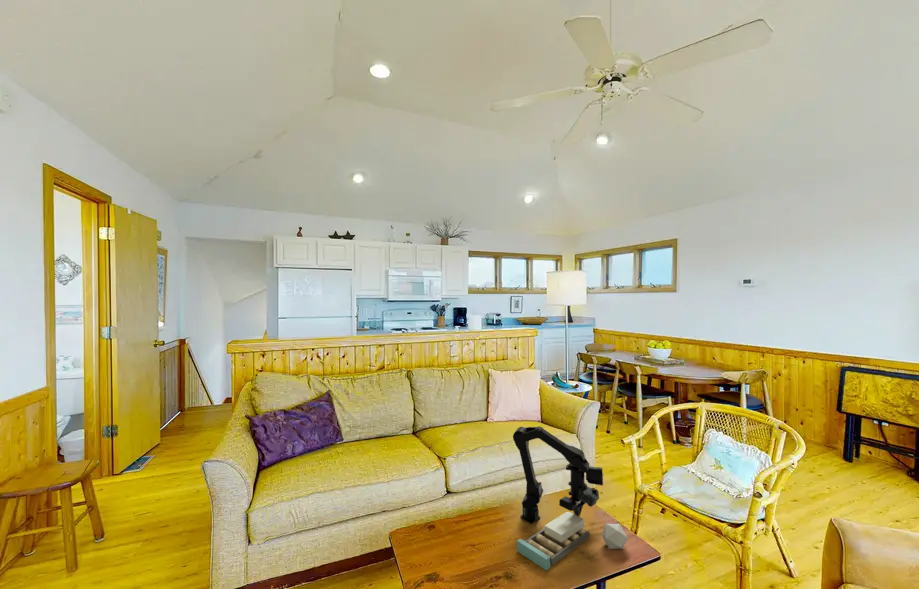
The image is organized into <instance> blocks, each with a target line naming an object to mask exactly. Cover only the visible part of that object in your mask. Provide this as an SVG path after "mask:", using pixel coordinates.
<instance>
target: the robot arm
mask: <svg viewBox="0 0 919 589" xmlns="http://www.w3.org/2000/svg"><path fill="white" fill-rule="evenodd" d="M512 439H513V442H514V444H515V447H516V448H517V449H518V451H519V455H520V459H521V464H522V468H523V471H524V472H523V473H524V478H525V481H526V490H525V492H526V493H525V495H524V497H523V499H522V501H521V505H522V514H521V515H520V518H521V519H523V521H526V522H528V523H530V524H533V523H535V522H536V521H538V520H540V519H541V516H540V515H539V511H540V510H539V503H540V501H541V498H542V496H543V493H544V489H543V485H542V481H541V482H540V481H538V480H537V478H536V473H535V469H534V464H533V461H532V460H533V459H532V455H531V452H530V441H533V440H536V439H540V441H542V442H543V443H545V444H547V445H548V446H549V447H551V448H552V449H553V450H555V451H556V452H558V453H560V454H561V455H562V456H563V457H564V459H565V460H566V461H567V462H568V464H567V465H566V467H565V470H566V471H570V480H569V481H568V482H567V484H568V486H570V490H569V491H568V495H569V496H570V497H568V496H563V497H562V498H560V499H559V501H558V504H559V506H560V507H561V508H564V509H566V510H568V511H569V512H573V514H574V515H577V516H579V517H580V516H581V513H582V509H583V507H584V505H586V504H587V506H588V507H593V506H594V505H596V504H597V502H598V500H599V499H600V493H599V490H598V488H597V489H596V488H591V487H590V486H588V484H591V485H597V486H601V487H602V486H604V473H603V467H600V466H599V467H596V466H591V465H590V462H589V461H588V460H587V458H586V455H585V452H584V451H583V450H582V449H580V448H578V447H575V446H574V445H569V444H567V443H565V442H563V441H562V440H561V439H559V438H558V437H557V436H554V435H553V434H552V433H550V432H548V431H547V430H546V429H544V427H542V426H527V427H525V426H519V427H518V428H516V430H515V432H514V433H513V434H512ZM585 480H586V482H587V483H588V484H587V483H585Z"/></svg>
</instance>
